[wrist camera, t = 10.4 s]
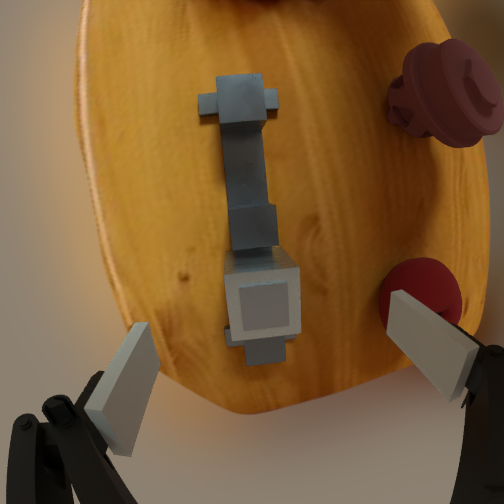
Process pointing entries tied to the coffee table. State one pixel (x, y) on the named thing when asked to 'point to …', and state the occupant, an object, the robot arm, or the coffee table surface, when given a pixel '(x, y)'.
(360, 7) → the coffee table surface
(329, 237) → the coffee table surface
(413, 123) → the mechanical component
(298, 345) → the coffee table surface
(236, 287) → the block
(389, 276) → the apple
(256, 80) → the rail
